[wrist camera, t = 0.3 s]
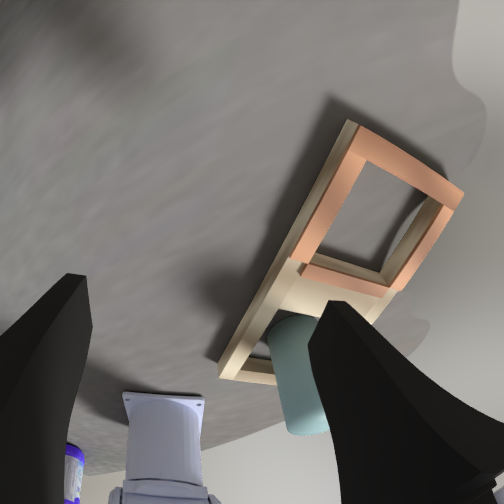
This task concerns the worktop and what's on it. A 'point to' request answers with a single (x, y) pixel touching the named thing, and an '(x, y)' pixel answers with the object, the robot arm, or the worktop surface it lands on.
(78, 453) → the bottle
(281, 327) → the peg
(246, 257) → the worktop surface
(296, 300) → the wooden slot frame
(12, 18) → the worktop surface
